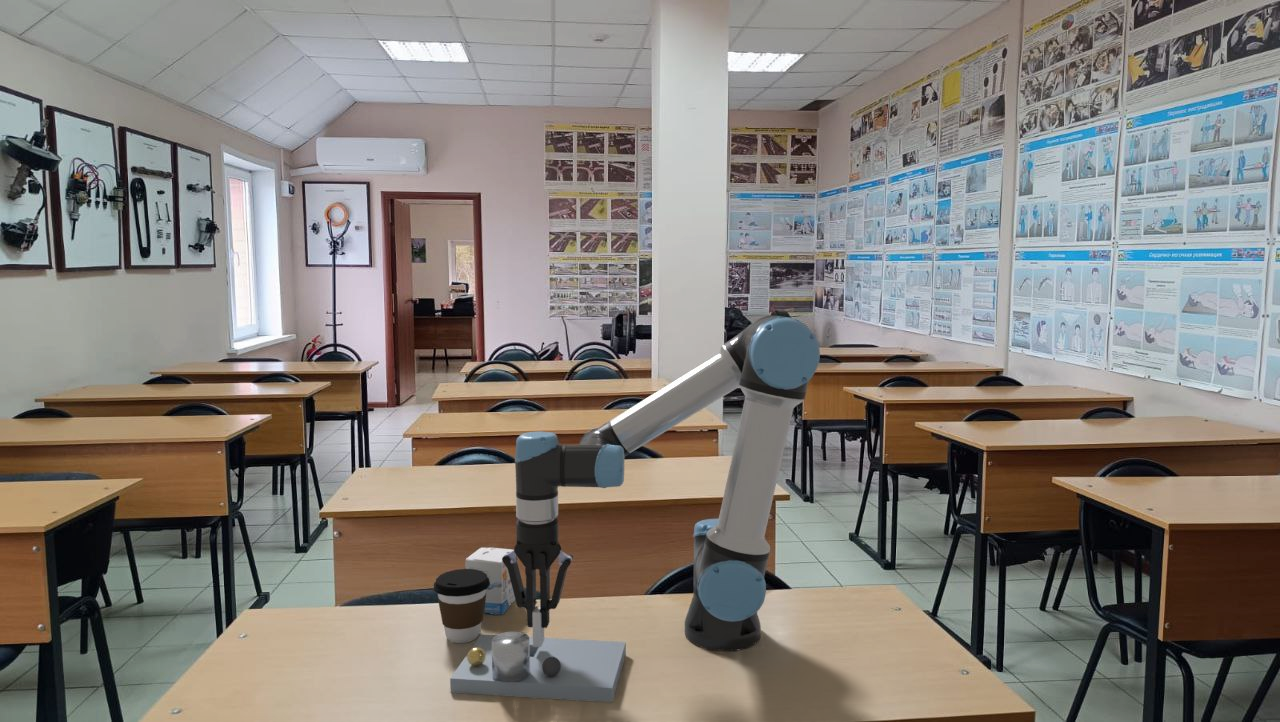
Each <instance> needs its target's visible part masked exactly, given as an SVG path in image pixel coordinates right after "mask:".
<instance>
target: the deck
mask: <svg viewBox="0 0 1280 722" xmlns="http://www.w3.org/2000/svg"><path fill="white" fill-rule="evenodd" d="M496 635H497V634H483V633H482V634H480V636H478V637H479V638H477V639H476V642H475V643H474V645H473V646H472V647H471V649H472V648H474V647H480V648H482V649H483V650H484V651H485V654H486V658H485V661H484V662H483V663H482V664H481V665H480V666H472V665H470V664H469V662H468V660H467V655H468V653H467V654H466V656H465V657H464V659H463V660H462V661H461V663H460V664H459V665H458V666H457V668H456V669H455V671H454V672H453V673H452V675H451V676H450V679H449V682H450V686H449V687H450V689H449V690H450V693H453V694H455V693H456V694H457V693H458V694H470V695H489V696H501V697H502V696H504V697H519V698H520V697H521V698H534V699H552V700H553V699H554V700H566V701H567V700H568V701H583V702H585V701H586V702H600V703H613V700H614V697H615V695H616V691H617V687H618V684H619V681H620V676H621V673H622V670H623V666H624V662H625V659H626V656H627V653H626V652H627V647H626V644H627V643H626V641H612V640H593V639H592V640H591V639H576V638H575V639H574V638H555V637H544V642H543V644H542V646H541V647H533V636H529V649H530V653H531V657H530V673H529V675H528V676H527V677H526V678H525V679H523V680H520V681H517V682H500V681H497V680H495V679H494V678H493V676H492V639H493V638H494V637H495V636H496ZM548 657H556V658H557V659H558V660H559V661H560V664H561V669H560V671H559V673H558V674H557V675H555V676H553V677H550V676H547V675H545V674H544V672H543V670H542V664H543V662H544V660H545V659H546V658H548Z"/></svg>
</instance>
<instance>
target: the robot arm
mask: <svg viewBox="0 0 1280 722" xmlns="http://www.w3.org/2000/svg"><path fill="white" fill-rule="evenodd" d="M720 346H721V347H720V350H719V353H716V355H713V356H712V357H711V358H709V359H707V360H706V361H703V362H702V363H701V364H699V365H698V366H696V367H694V368H692V369H691V370H689V371H688V372H686V373H684V374H683V375H681V376H680V377H678V378H677V379H674V380H673V381H672V382H669V383H668V384H667V385H665V386H664V387H662V388H660V389H658V390H656V391H655V392H654V393H652V394H651V395H649V396H648V397H646V398H644V399H642V400H641V401H639V402H638V403H636V404H634V405H633V406H631V407H629V408H628V409H627V410H625V411H623V412H622V413H620V414H618V415H616V416H615V417H613V418H612V419H610V420H609V421H608V422H606V423H604V424H602V425H600V426H599V427H594V428H592V429H591V430H589V431H587V432H586V433H585V434H584V435H583V436H582V437H581V439H580V440H579V444H563V443H562V444H561V443H560V442H559V439H558V435H557V434H556V433H554V432H550V431H529V432H525V433H522V434H520V435H519V436H517V438H516V440H515V441H516V442H515V443H516V445H515V459H514V464H515V489H516V492H515V512H516V513H515V516H516V518H517V520H516V524H515V525H516V527H515V528H516V530H515V532H516V543H515V545H514V548H513V549H512V550H513V551H511V552H507V553H506V554H505V555H504V556H503V558H502V561H503V563H504V564H505V566H506V567H507V569H508V572H509V576H510V580H511V584H512V588H513V592H514V596H515V604H516V606H517V607H518V608H523V609H525V610H526V618H527V619H526V621H527V622H526V623H527V627H528V628H532V637H533V647H541V646H542V644H543V642H544V638H545V629H547V628H548V626H549V624H550V610H555V609H556V608H557V607H558V605H559V603H560V601H561V596H562V594H563V593H562V592H563V588H564V585H565V584H564V583H565V580H566V576H567V572H568V568H569V567H570V565H571V563H572V562H573V561H574V556H573V555H572V554H567V553H566V552H564V551H562V546H561V544H560V542H559V519H558V516H559V489H558V488H559V487H561V488H562V487H563V488H567V487H573V488H601V489H606V488H615V487H616V488H617V487H621V486H622V485H623V484H624V480H625V457H626V456H628V455H630V454H631V453H632V452H634V451H636V450H637V449H640V448H641V447H642V446H644V445H647V444H648V443H649V442H651V441H652V440H654V439H655V438H657V437H659V436H661V435H662V434H664V433H665V432H668V431H669V430H671V429H672V428H674V427H675V426H677V425H679V424H680V423H682V422H683V421H686V420H687V419H688V418H690V417H692V416H694V415H695V414H697V413H698V412H700V411H702V410H704V409H706V408H707V407H708V406H710V405H711V404H713V403H715V402H716V401H718V400H720V399H722V398H723V397H726V395H728V394H730V393H731V392H733V391H735V390H736V389H738V388H739V389H741V391H742V393H743V395H744V401H743V407H742V410H741V416H740V420H739V424H738V429H737V434H736V438H735V443H734V447H733V451H732V452H733V453H732V457H731V462H730V465H729V469H728V475H727V479H726V484H725V488H724V492H723V493H724V494H723V498H722V502H721V506H720V511H719V516H718V518H708V519H707V518H706V519H703V520H700V521H698V522H696V523H695V525H694V530H693V535H692V538H693V596H692V598H691V601H690V604H689V607H688V610H687V613H686V616H685V619H684V636H685V637H686V639H687V640H688V641H689V642H691V643H692V644H695V645H696V646H699V647H701V648H704V649H709V650H713V651H714V650H715V651H723V652H724V651H725V652H726V651H737V650H739V651H740V650H743V649H748V648H750V647H752V646H754V645H755V644H757V643H758V642H759V641H760V640H761V637H762V636H761V634H762V632H761V629H762V628H761V627H762V626H761V621H760V618H759V615H758V612H759V610H760V609H761V608H762V606H763V604H764V602H765V599H766V594H767V589H766V588H767V584H766V580H765V575H766V570H767V565H768V561H769V556H770V552H771V546H770V544H769V542H768V541H767V540H766V537H765V535H766V530H767V528H768V527H767V526H768V521H769V518H770V512H771V509H772V505H773V504H772V503H773V500H774V497H775V496H774V495H775V491H776V487H777V482H778V477H779V473H780V469H781V466H782V465H781V464H782V460H783V455H784V451H785V448H786V447H785V445H786V441H787V439H788V433H789V429H790V425H791V420H792V417H793V416H792V415H793V411H794V408H796V407H797V406H798V405H800V404H801V403H803V402H805V398H806V395H807V390H808V385H809V382H810V380H811V379H812V377H813V376H814V374H815V372H816V371H817V370H818V366H819V364H820V356H821V351H820V345H819V343H818V339H817V337H816V335H815V334H814V333H813V332H812V330H811V329H810V328H809V326H807V325H806V324H805V323H803V322H802V321H800V320H799V319H796V318H792V317H789V316H788V317H786V316H783V315H777V314H771V315H765V316H762V317H760V318H758V319H757V320H755V321H753V322H752V323H750V324H749V325H748V326H747V327H745V328H743V330H742V331H741V332H739V333H738V334H737V335H735V336H734V337H733V338H731V339H729V340H728V341H726V342H724V343H723V344H721V345H720ZM557 558H558V561H557V563H558V565H559V566H560V567H559V569H558V571H557V574H556V578H555V582H554V583H555V584H554V588H553V591H552V595H551V593H550V591H551V588H550V587H551V585H550V582H551V581H550V579H551V578H550V570H551V566H552V565H553V564H554V562H555V561H556V559H557ZM518 559H519V560H520V562H521V563H522V565H523V566H524V567H525V568H524V573H525V588H524V584H523V580H522V576H521V572H520V568H519V564H518ZM537 570H538V572H539V573H538V575H539V596H540V598H539V601H540V602H539V603H540V605H537V603H538V601H537ZM536 605H537V606H536Z"/></svg>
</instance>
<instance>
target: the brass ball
mask: <svg viewBox="0 0 1280 722" xmlns="http://www.w3.org/2000/svg"><path fill="white" fill-rule="evenodd" d="M467 654H468V655H467ZM467 654H466V656H467V660H468V662H469V664H470V665H472V666H480V665H481V664H482V663H483V662H484V661H485V658H486V654H485V651H484V650H483V649H482V648H480V647H474V648H472V647H471V649H469V651H468V652H467Z"/></svg>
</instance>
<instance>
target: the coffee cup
mask: <svg viewBox="0 0 1280 722" xmlns="http://www.w3.org/2000/svg"><path fill="white" fill-rule="evenodd" d="M489 585H490V580H489V578H488V577H487V574H486V573H484V572H483V571H480V570H476V569H466V568H461V569H460V568H459V569H454V570H449V571H446V572H443V573H441V574H440V575H438V577H436V578H435V582H434V583H433V591H434V592H435V593H436V594H437V602H438V606H439V611H440V617H441V622H442V625H443V627H444V632H445V636H446V639H447V640H448V639H449V640H450V642H451V641H452V642H451V643H454V642H455V643H456V644H464V643H465V644H466V643H469V642H473V641H474V640H477V639H478V637H480V636H479V635H481V634H480V633H481V628H482V621H483V620H484V614H485V613H484V608H485V601H486V589H487V588H488V587H489ZM449 640H448V641H449ZM455 643H454V644H455Z"/></svg>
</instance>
